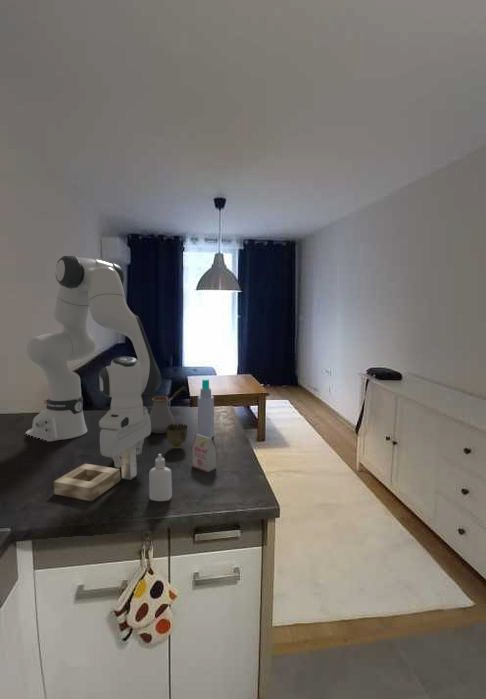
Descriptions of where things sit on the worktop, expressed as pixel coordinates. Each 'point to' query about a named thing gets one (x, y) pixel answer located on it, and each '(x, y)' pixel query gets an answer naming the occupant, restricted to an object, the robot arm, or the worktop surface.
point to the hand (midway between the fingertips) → (128, 460)
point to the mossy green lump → (176, 435)
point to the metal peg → (129, 462)
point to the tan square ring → (87, 482)
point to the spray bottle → (206, 411)
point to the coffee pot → (162, 413)
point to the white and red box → (203, 453)
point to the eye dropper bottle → (160, 481)
